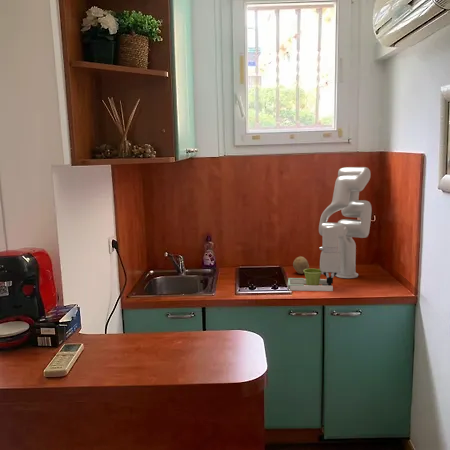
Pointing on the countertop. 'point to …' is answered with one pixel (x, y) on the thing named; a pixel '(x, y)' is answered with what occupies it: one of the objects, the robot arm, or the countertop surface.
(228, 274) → the countertop surface
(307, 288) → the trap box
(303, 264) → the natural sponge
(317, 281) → the plant pot
